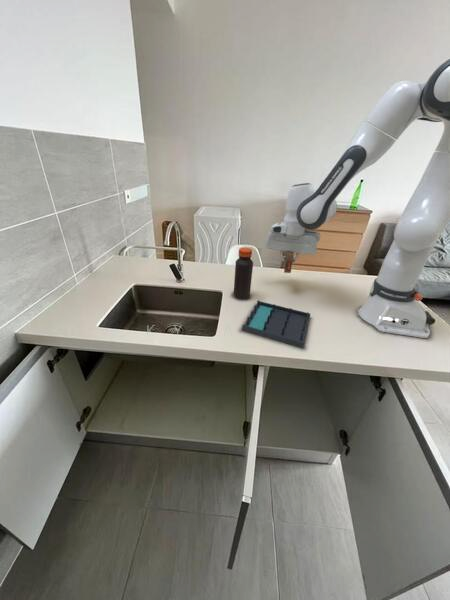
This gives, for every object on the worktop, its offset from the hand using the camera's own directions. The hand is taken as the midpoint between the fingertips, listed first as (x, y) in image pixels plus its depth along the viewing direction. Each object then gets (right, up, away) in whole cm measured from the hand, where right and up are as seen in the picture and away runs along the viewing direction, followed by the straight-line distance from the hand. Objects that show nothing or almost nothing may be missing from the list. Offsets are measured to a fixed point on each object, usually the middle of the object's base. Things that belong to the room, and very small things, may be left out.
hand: (288, 261), depth 103 cm
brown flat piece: (0, -3, +2) cm, 4 cm away
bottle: (-20, -15, -2) cm, 25 cm away
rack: (-9, -25, -18) cm, 32 cm away
